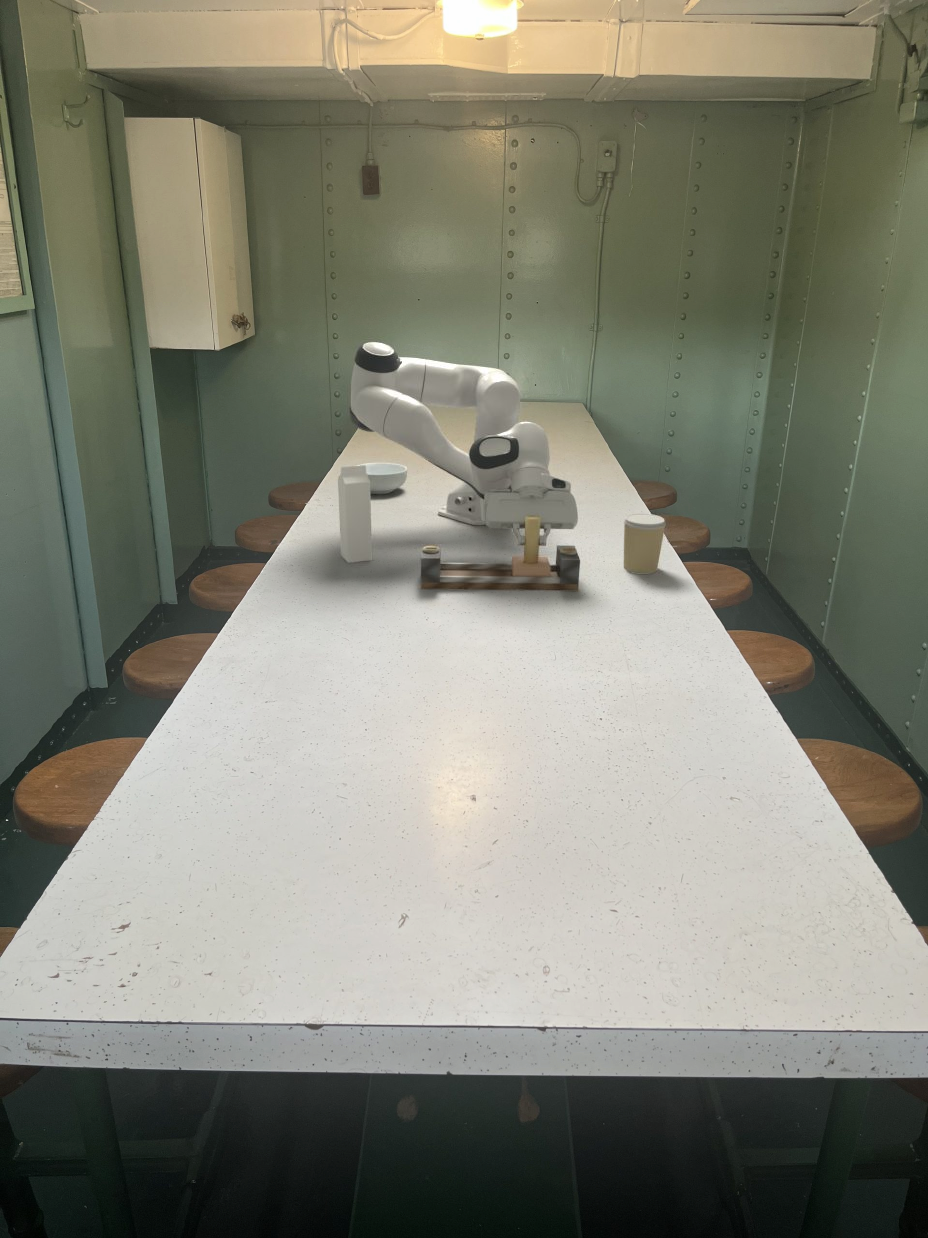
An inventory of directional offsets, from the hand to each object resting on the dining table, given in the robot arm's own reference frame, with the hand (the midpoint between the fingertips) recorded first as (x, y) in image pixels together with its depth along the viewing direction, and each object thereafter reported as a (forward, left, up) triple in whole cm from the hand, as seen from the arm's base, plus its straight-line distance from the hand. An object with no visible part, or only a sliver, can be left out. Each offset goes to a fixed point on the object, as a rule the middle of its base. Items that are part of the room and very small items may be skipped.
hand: (532, 544), depth 191 cm
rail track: (-6, -3, -9) cm, 11 cm away
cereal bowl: (-77, +43, -9) cm, 89 cm away
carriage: (0, +1, -7) cm, 7 cm away
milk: (-42, -9, -9) cm, 44 cm away
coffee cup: (+16, +24, -9) cm, 30 cm away
